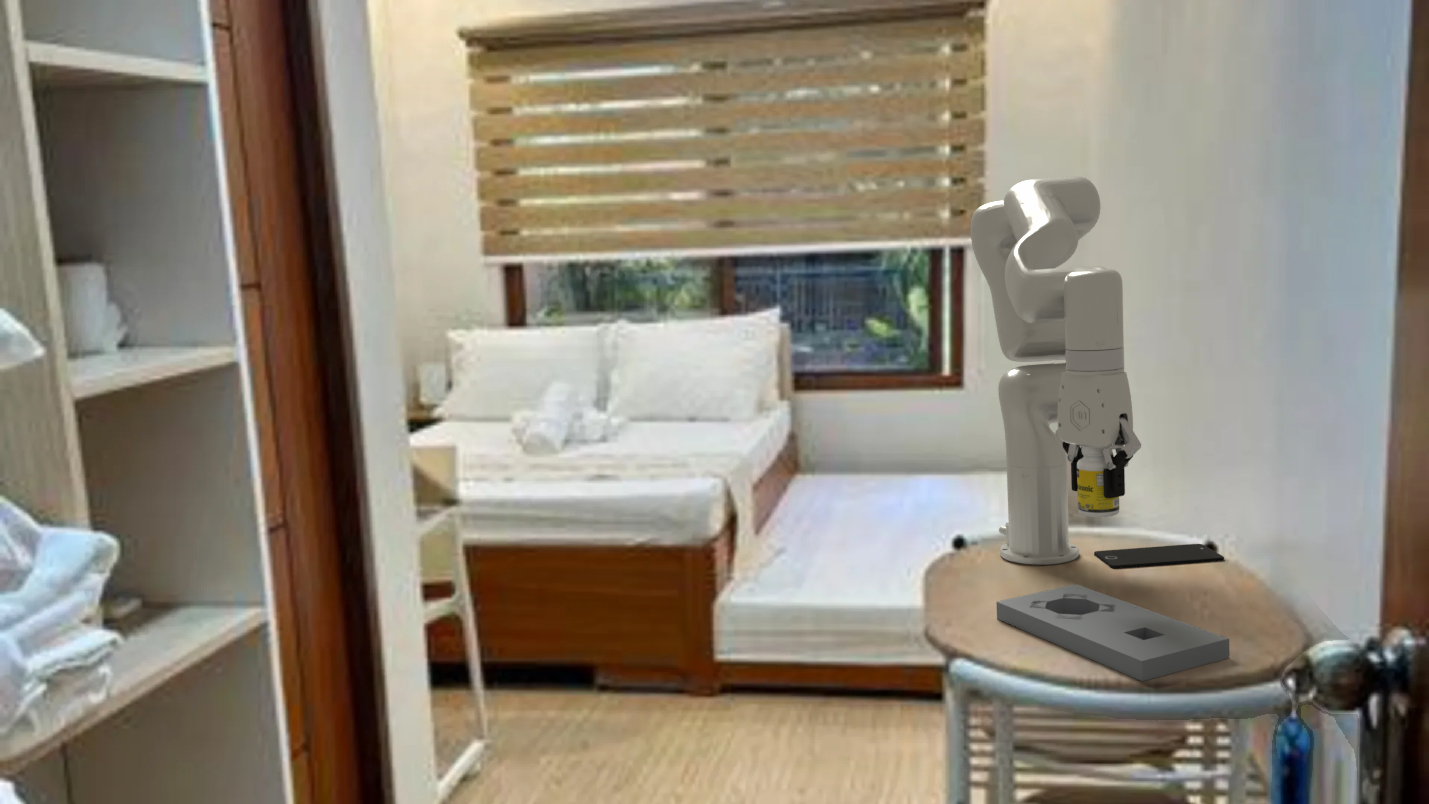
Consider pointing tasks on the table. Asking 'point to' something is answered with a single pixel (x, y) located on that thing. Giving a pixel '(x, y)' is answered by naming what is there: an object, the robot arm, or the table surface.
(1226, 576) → the table surface
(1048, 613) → the socket plate
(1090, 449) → the supplement bottle
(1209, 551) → the cell phone
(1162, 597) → the table surface
